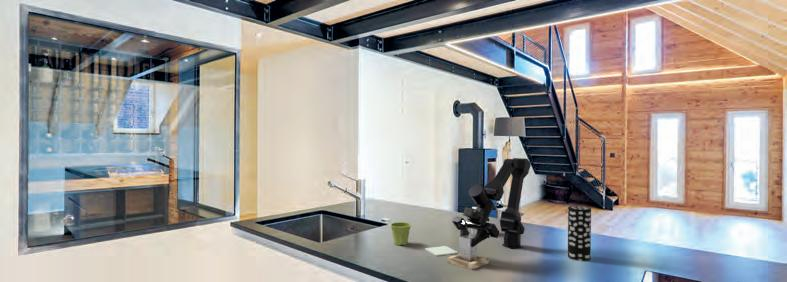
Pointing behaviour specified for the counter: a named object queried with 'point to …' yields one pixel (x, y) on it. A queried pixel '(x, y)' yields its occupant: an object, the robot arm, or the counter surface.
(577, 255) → the white-spotted black cylinder
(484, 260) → the oak socket frame
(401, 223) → the plant pot
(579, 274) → the counter surface
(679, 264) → the counter surface
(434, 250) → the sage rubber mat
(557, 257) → the counter surface
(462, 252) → the steel cap block
